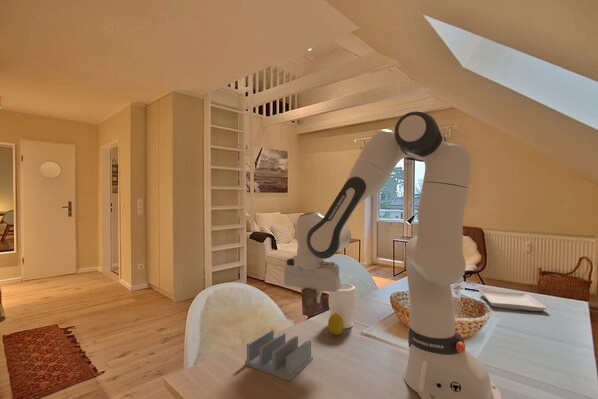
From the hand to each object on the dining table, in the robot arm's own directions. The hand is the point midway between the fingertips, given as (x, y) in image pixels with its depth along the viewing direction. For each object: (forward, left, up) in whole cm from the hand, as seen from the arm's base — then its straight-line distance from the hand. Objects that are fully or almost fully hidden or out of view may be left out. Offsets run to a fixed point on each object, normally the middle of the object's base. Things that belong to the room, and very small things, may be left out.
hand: (312, 301), depth 101 cm
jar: (-1, -21, -15) cm, 26 cm away
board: (0, 0, -3) cm, 3 cm away
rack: (+4, +14, -15) cm, 21 cm away
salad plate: (-58, -83, -15) cm, 103 cm away
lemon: (-3, -11, -15) cm, 19 cm away
